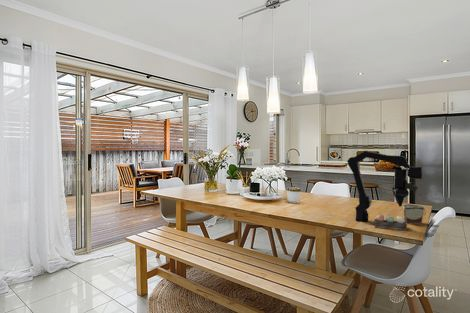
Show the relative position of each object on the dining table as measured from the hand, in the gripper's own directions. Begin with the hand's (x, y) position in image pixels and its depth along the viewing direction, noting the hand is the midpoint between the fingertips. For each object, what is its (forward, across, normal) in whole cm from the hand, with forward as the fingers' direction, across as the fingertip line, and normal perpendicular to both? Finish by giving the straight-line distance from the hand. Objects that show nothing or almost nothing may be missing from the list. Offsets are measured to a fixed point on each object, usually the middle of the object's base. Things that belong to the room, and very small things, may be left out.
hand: (399, 204), depth 159 cm
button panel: (+12, -6, +5) cm, 14 cm away
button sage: (+9, -6, +5) cm, 12 cm away
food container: (+12, +11, -8) cm, 18 cm away
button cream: (+9, -6, 0) cm, 11 cm away
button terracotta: (+9, -6, +10) cm, 15 cm away
